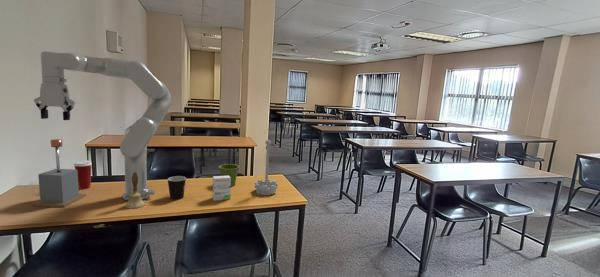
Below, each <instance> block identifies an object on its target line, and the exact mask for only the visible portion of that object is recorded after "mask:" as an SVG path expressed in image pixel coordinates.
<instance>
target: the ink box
mask: <svg viewBox="0 0 600 277" xmlns="http://www.w3.org/2000/svg"><path fill="white" fill-rule="evenodd" d="M231 187H232V186H231V178H230V176H221V175H216V176H215V175H213V176H212V200H213V202H214V201H225V200H231Z"/></svg>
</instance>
